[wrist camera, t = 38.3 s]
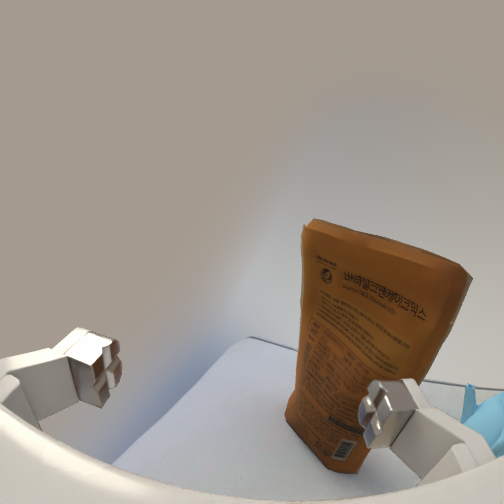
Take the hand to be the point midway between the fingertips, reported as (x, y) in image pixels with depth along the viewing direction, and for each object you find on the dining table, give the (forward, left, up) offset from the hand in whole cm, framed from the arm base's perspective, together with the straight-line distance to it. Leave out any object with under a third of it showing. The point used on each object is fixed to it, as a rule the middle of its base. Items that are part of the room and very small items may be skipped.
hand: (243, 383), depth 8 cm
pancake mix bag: (+1, +21, -25) cm, 33 cm away
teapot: (+31, +29, -25) cm, 50 cm away
